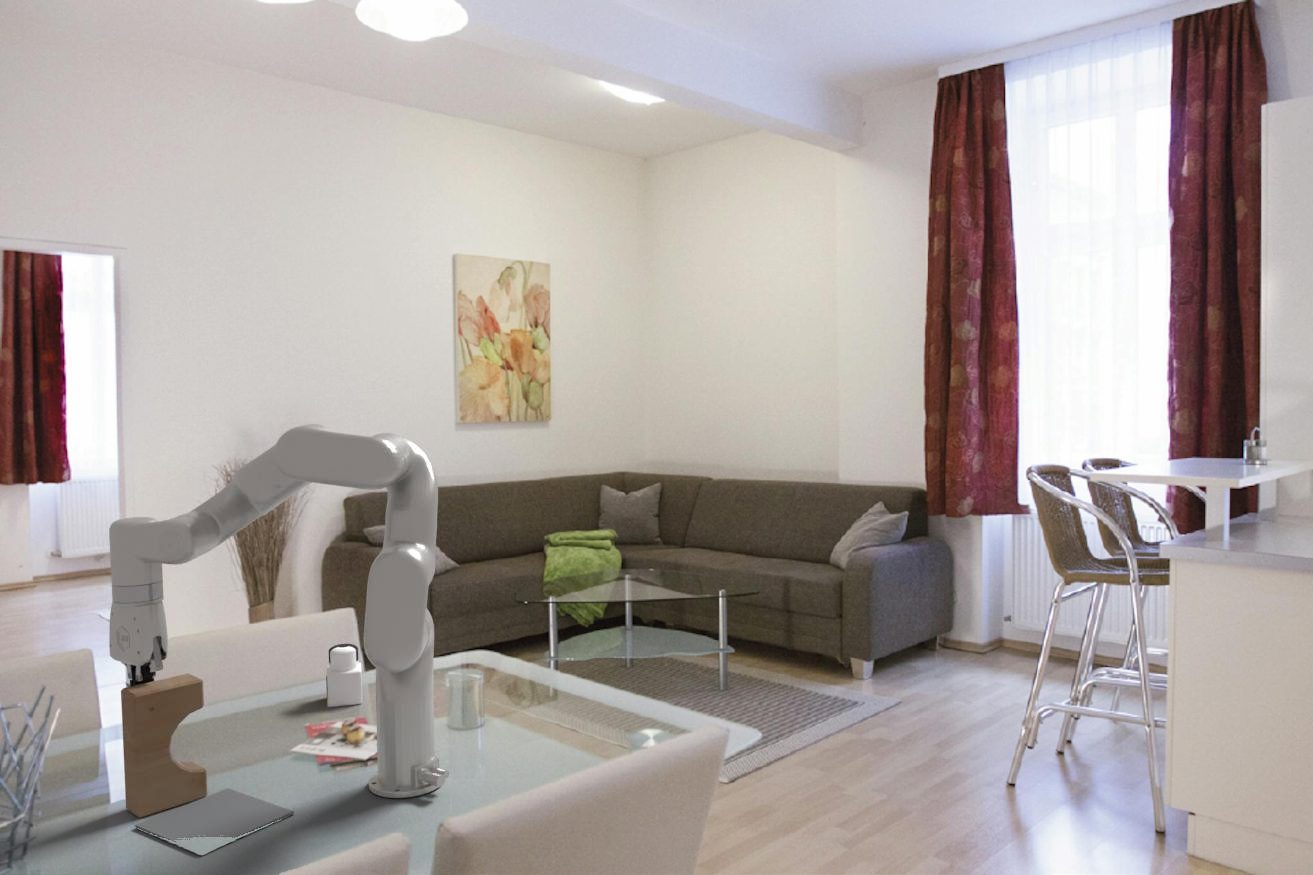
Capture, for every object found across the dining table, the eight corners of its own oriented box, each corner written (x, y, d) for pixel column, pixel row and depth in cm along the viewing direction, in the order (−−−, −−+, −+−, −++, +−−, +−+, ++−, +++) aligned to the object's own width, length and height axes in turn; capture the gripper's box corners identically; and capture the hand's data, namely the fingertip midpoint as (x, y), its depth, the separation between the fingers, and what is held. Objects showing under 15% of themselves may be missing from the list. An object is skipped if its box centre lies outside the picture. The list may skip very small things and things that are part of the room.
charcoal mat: (293, 814, 158) (293, 811, 158) (201, 856, 145) (201, 852, 145) (228, 791, 167) (227, 788, 167) (135, 828, 154) (135, 824, 154)
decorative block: (194, 787, 169) (190, 672, 168) (208, 797, 165) (204, 679, 164) (124, 809, 161) (119, 687, 159) (138, 819, 157) (132, 695, 156)
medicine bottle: (327, 697, 216) (326, 643, 215) (361, 693, 218) (360, 640, 217) (327, 707, 209) (325, 651, 208) (362, 704, 211) (360, 648, 210)
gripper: (90, 592, 165) (95, 700, 166) (141, 602, 157) (146, 716, 158) (134, 583, 171) (139, 688, 172) (185, 593, 163) (190, 703, 164)
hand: (142, 701), depth 165 cm, fingers closed
